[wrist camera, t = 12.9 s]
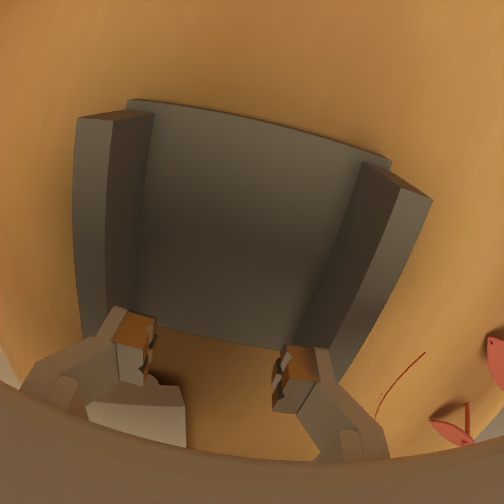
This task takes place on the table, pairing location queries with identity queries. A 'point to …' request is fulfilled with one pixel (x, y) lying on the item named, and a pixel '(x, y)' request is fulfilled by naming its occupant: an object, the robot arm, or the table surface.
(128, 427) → the decorative molding
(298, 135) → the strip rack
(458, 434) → the figurine
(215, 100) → the table surface
